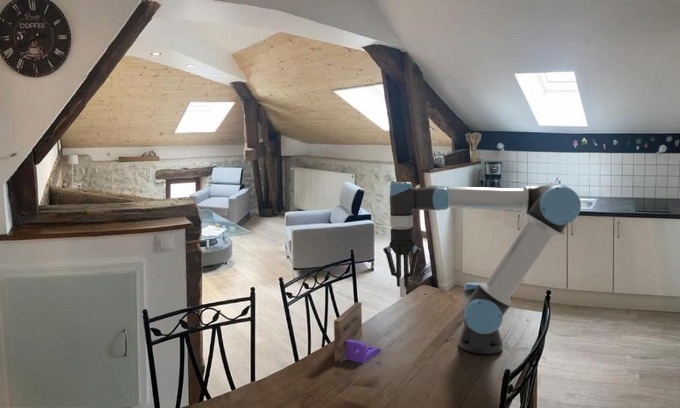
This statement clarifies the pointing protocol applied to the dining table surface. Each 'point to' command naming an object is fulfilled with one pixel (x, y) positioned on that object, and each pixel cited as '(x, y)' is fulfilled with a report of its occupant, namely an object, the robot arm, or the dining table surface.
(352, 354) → the bracket
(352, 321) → the upright wooden plank
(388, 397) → the dining table surface
